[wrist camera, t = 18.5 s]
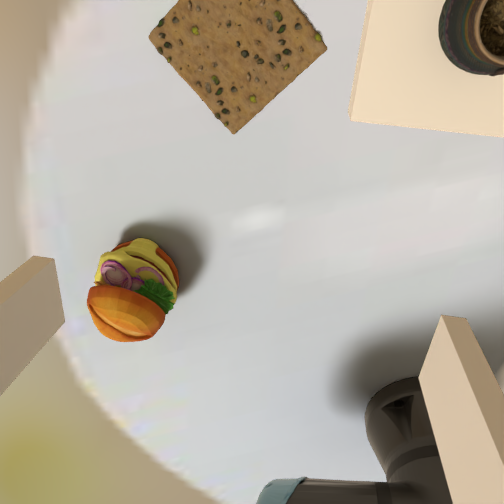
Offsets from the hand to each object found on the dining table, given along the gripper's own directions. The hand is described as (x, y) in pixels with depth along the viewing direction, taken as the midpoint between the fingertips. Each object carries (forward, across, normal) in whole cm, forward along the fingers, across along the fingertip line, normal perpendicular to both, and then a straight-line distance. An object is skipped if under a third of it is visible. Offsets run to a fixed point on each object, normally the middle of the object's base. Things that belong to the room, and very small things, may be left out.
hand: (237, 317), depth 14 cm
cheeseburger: (+31, +16, +20) cm, 40 cm away
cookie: (+31, +6, -7) cm, 33 cm away
